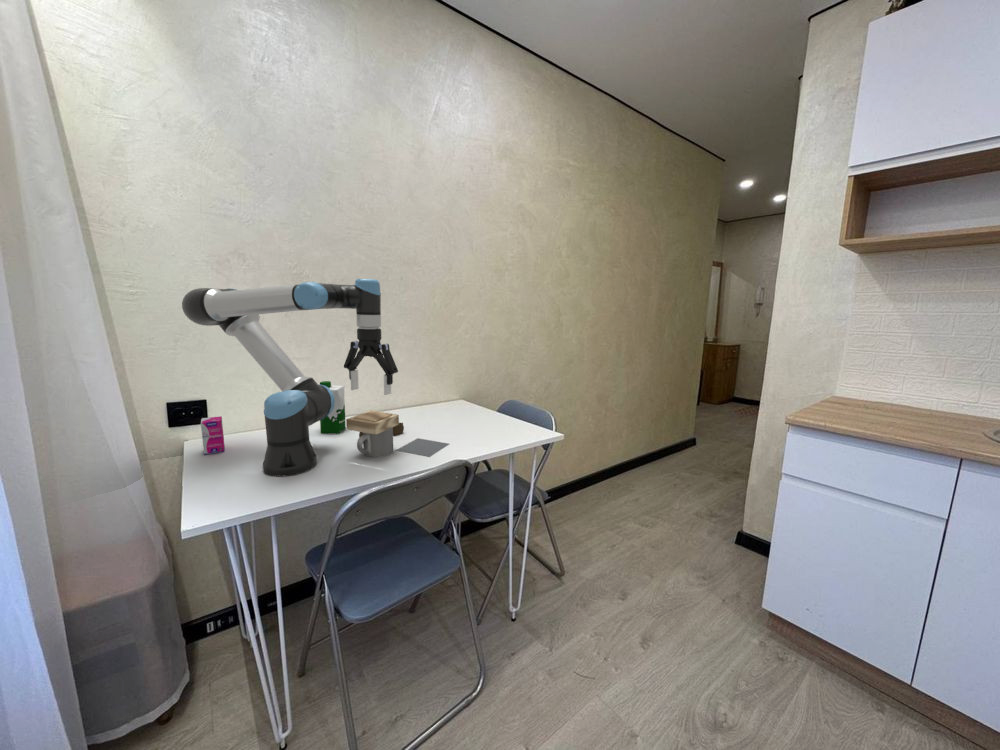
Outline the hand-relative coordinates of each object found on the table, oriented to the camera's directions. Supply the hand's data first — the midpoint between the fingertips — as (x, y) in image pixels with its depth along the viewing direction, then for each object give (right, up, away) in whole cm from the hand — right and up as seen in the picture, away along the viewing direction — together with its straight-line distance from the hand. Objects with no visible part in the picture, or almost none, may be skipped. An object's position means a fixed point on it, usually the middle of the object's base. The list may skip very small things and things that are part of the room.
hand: (371, 391), depth 133 cm
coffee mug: (0, -22, +4) cm, 22 cm away
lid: (0, -12, +2) cm, 12 cm away
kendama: (-2, -19, +23) cm, 30 cm away
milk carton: (-24, -17, +27) cm, 40 cm away
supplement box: (-55, -21, +4) cm, 59 cm away
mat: (+15, -21, +11) cm, 28 cm away
